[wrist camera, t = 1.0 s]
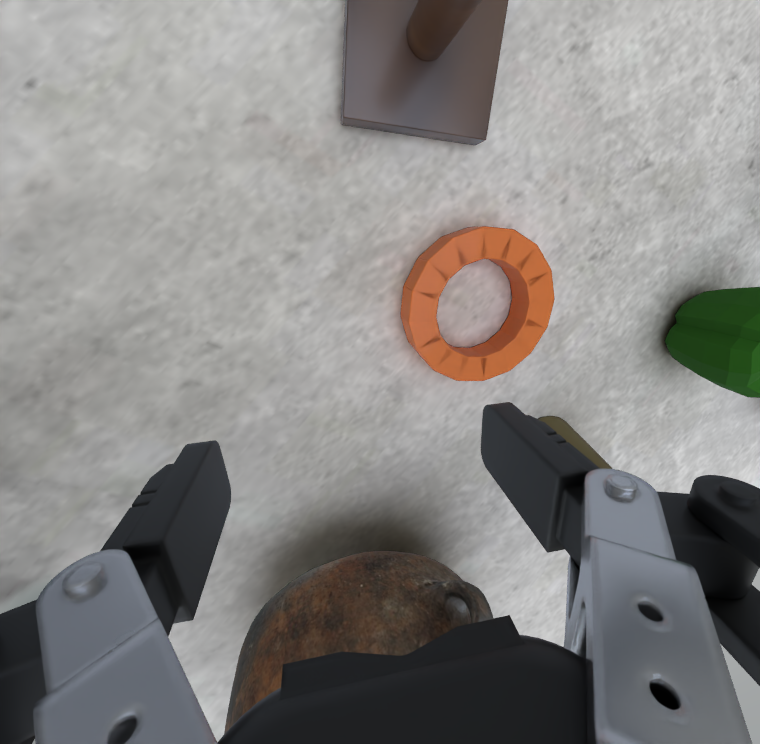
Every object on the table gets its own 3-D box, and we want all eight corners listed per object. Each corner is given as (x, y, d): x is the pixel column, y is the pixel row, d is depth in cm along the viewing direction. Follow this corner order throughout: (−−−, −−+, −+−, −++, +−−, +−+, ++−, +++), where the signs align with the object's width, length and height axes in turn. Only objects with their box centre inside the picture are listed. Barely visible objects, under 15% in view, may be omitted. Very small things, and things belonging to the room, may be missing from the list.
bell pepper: (634, 333, 31) (768, 374, 22) (707, 259, 30) (881, 271, 21) (674, 384, 35) (806, 439, 25) (741, 320, 33) (906, 353, 24)
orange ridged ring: (394, 369, 28) (401, 380, 26) (409, 220, 24) (419, 219, 22) (517, 370, 30) (533, 381, 28) (549, 235, 27) (571, 235, 24)
